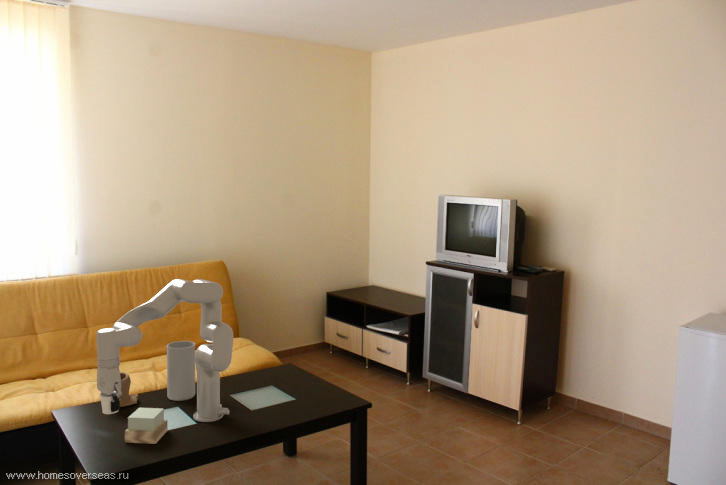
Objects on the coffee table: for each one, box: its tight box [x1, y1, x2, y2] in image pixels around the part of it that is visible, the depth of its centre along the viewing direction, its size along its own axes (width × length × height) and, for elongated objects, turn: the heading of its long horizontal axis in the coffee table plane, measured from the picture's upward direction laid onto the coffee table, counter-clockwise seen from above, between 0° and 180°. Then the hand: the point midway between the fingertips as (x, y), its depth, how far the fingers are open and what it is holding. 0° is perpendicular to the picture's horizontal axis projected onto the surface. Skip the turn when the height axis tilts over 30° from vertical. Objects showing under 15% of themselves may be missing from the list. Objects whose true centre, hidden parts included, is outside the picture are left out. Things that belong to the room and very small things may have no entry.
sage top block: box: [127, 407, 165, 431], centre depth 224 cm, size 10×10×5 cm
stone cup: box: [120, 371, 139, 408], centre depth 255 cm, size 15×12×15 cm
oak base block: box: [124, 419, 168, 445], centre depth 225 cm, size 12×12×5 cm
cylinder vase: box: [166, 340, 196, 402], centre depth 267 cm, size 12×12×25 cm
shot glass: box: [99, 391, 120, 415], centre depth 213 cm, size 7×7×7 cm
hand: (110, 408), depth 213 cm, fingers closed on shot glass, 6 cm apart
